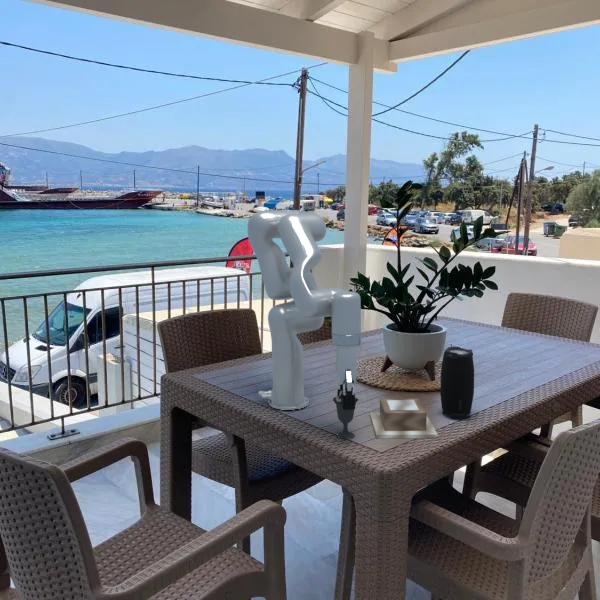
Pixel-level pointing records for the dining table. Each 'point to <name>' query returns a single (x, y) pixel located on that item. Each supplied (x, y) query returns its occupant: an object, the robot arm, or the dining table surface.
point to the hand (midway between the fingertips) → (347, 403)
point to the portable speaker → (457, 382)
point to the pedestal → (402, 420)
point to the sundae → (344, 415)
